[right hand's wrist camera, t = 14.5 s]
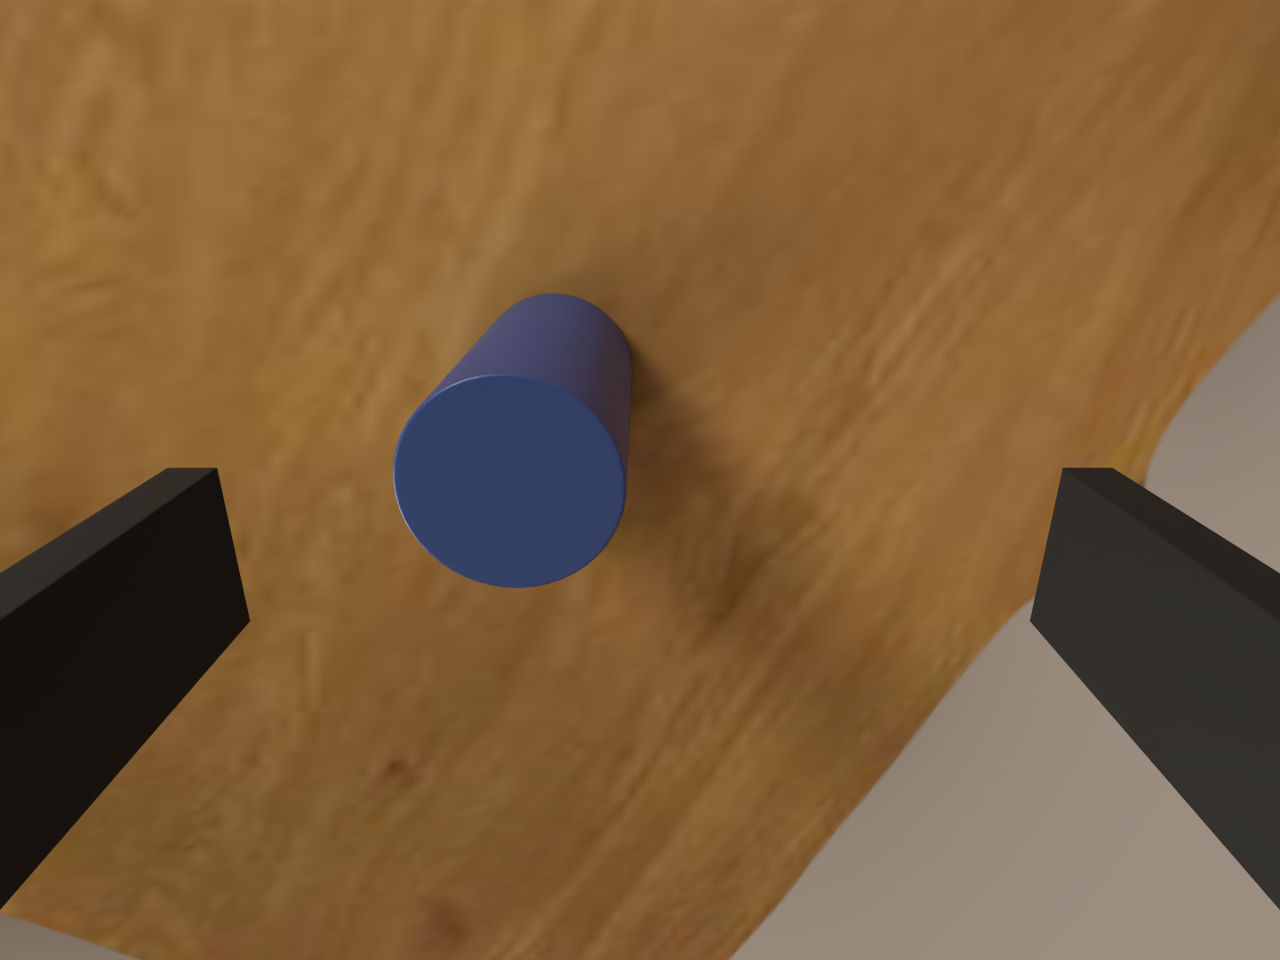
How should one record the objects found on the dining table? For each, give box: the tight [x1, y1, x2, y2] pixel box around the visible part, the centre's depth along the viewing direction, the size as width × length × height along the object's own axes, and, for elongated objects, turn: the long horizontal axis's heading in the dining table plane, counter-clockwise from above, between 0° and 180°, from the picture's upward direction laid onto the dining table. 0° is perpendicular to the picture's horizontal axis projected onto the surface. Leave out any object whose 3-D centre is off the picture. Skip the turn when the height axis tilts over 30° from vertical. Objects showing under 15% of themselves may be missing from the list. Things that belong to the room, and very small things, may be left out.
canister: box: [393, 294, 632, 588], centre depth 24 cm, size 6×6×11 cm
